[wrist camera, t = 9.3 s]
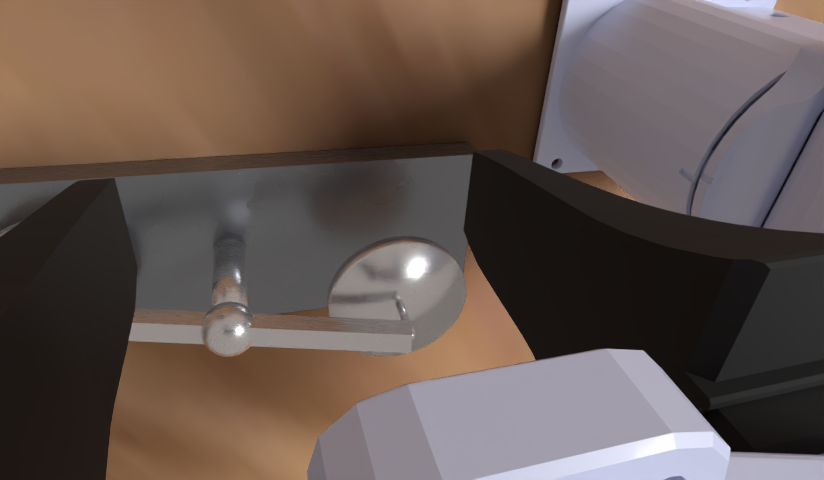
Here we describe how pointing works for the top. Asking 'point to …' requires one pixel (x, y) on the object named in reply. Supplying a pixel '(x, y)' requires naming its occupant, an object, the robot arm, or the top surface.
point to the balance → (285, 244)
